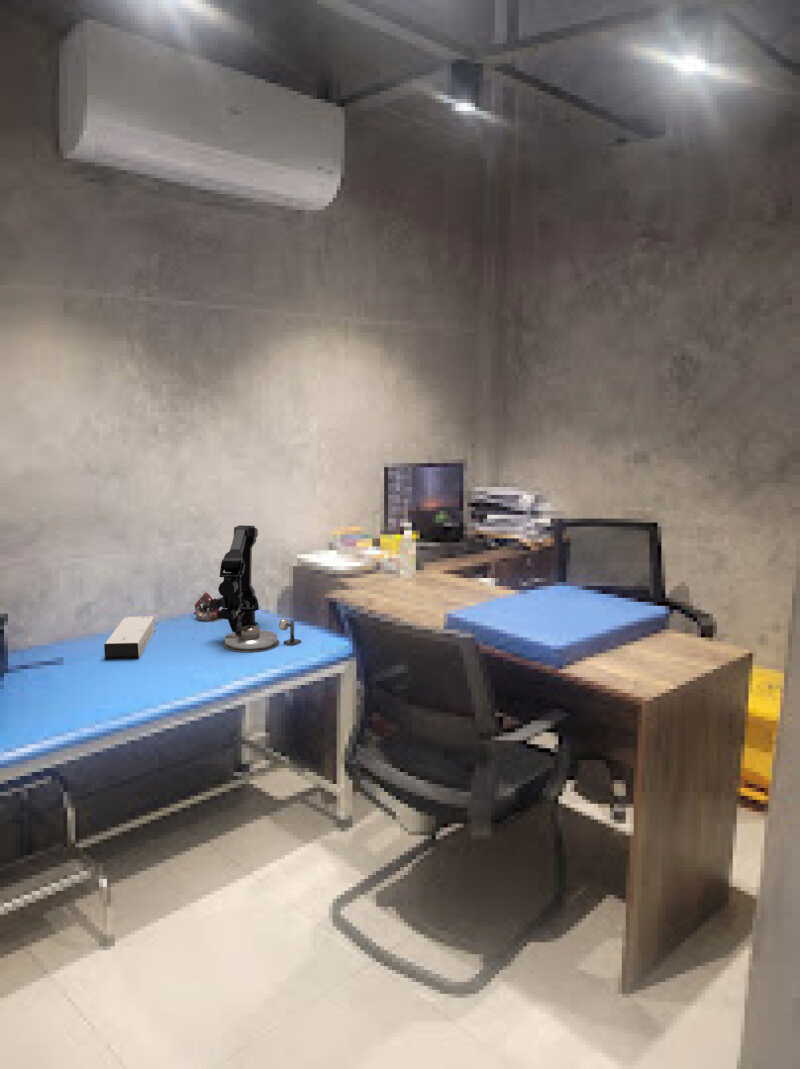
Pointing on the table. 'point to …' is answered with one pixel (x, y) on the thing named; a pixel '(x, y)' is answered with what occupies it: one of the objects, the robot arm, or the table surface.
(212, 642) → the table surface
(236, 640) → the turntable
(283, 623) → the stand
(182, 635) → the table surface
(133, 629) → the laminator
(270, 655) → the table surface
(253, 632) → the cover
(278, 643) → the turntable base
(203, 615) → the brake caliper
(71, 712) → the table surface
